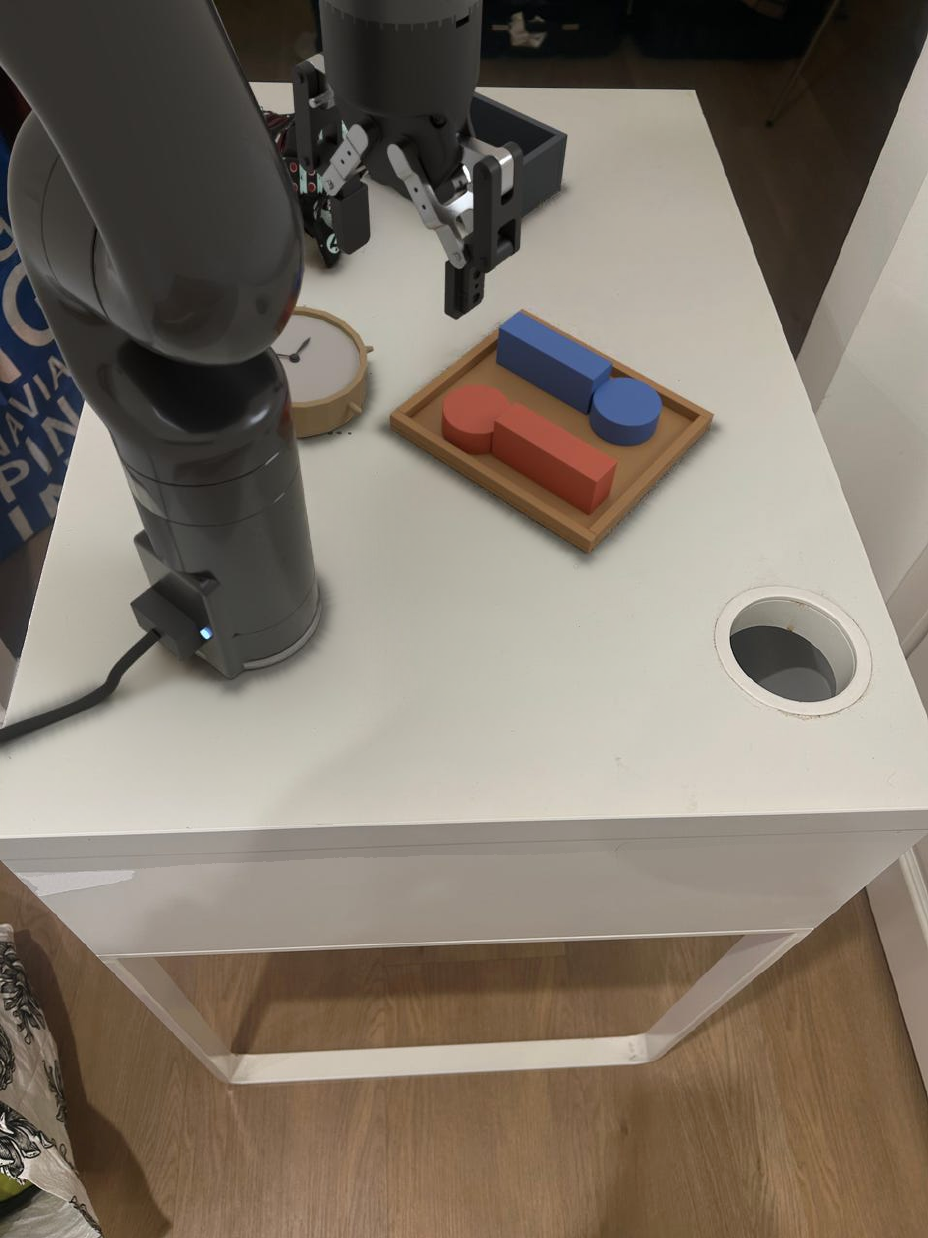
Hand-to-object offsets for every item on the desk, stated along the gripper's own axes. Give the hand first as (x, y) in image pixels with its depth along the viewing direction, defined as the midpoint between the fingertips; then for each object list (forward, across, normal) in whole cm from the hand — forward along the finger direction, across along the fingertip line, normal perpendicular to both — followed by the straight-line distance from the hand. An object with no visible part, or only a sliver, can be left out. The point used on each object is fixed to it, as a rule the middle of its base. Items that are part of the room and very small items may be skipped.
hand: (406, 278), depth 57 cm
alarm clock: (+18, -14, 0) cm, 22 cm away
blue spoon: (+17, +4, +15) cm, 23 cm away
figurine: (+18, -28, +14) cm, 36 cm away
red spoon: (+17, +6, +7) cm, 19 cm away
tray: (+18, +5, +11) cm, 21 cm away
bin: (+18, -23, +31) cm, 43 cm away
